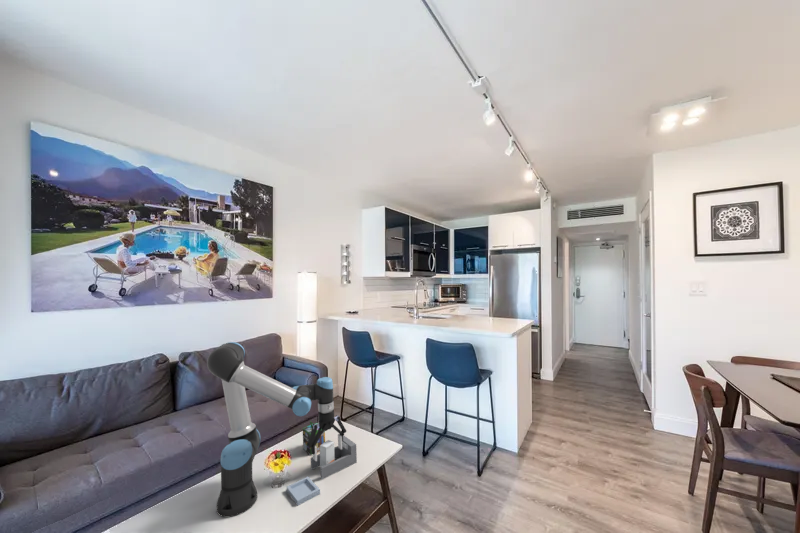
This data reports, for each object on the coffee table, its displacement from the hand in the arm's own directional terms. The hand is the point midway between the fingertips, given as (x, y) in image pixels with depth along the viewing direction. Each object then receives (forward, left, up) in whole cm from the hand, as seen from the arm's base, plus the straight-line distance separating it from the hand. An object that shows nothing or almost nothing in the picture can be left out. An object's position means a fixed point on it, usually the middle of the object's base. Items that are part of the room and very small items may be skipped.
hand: (328, 454), depth 152 cm
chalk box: (+3, +21, -7) cm, 22 cm away
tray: (-16, -8, -7) cm, 19 cm away
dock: (+3, 0, -7) cm, 8 cm away
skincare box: (0, 0, -7) cm, 7 cm away
